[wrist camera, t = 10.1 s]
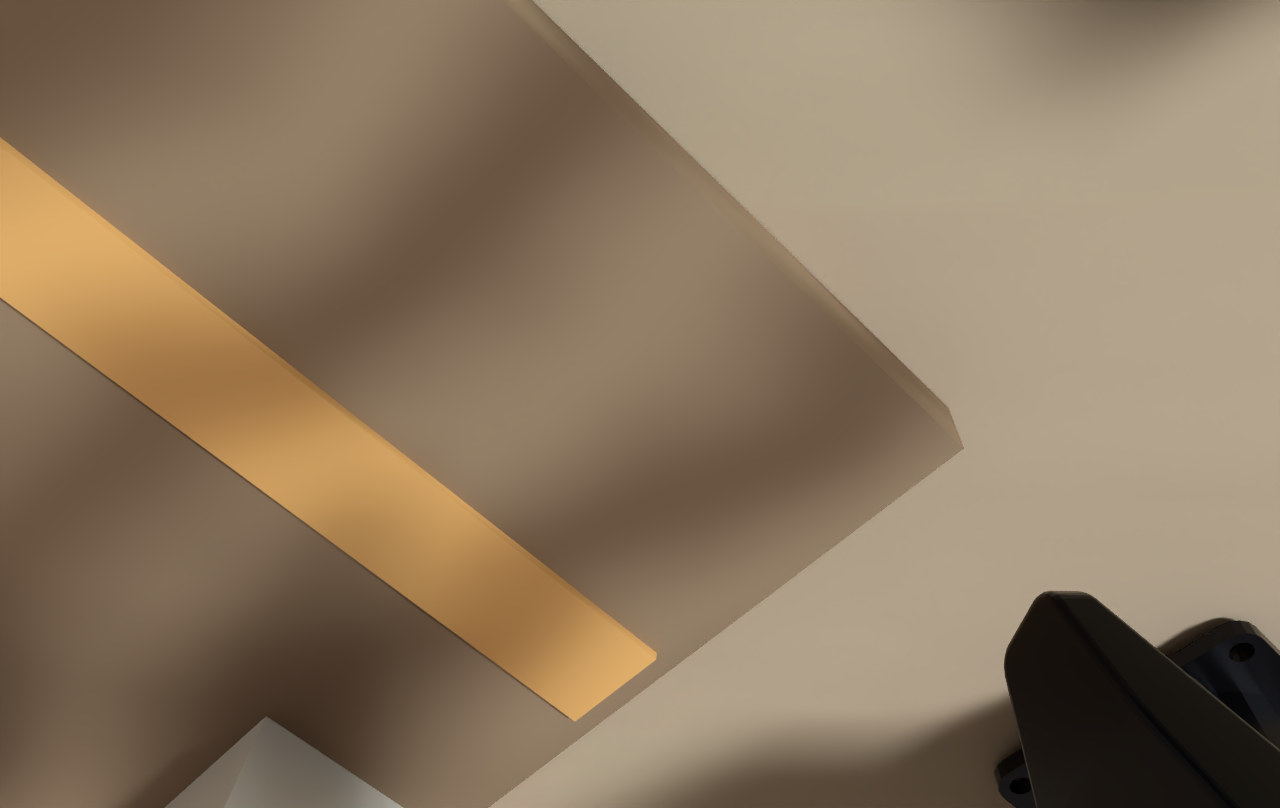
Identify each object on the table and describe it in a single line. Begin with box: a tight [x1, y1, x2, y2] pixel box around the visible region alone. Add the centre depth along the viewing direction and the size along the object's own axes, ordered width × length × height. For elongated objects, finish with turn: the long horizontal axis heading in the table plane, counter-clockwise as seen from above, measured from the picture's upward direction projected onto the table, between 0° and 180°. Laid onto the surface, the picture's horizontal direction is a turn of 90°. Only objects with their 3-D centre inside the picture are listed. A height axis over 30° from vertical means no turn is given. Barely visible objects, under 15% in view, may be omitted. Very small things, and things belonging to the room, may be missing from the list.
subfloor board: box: [0, 0, 964, 808], centre depth 22 cm, size 20×22×2 cm
